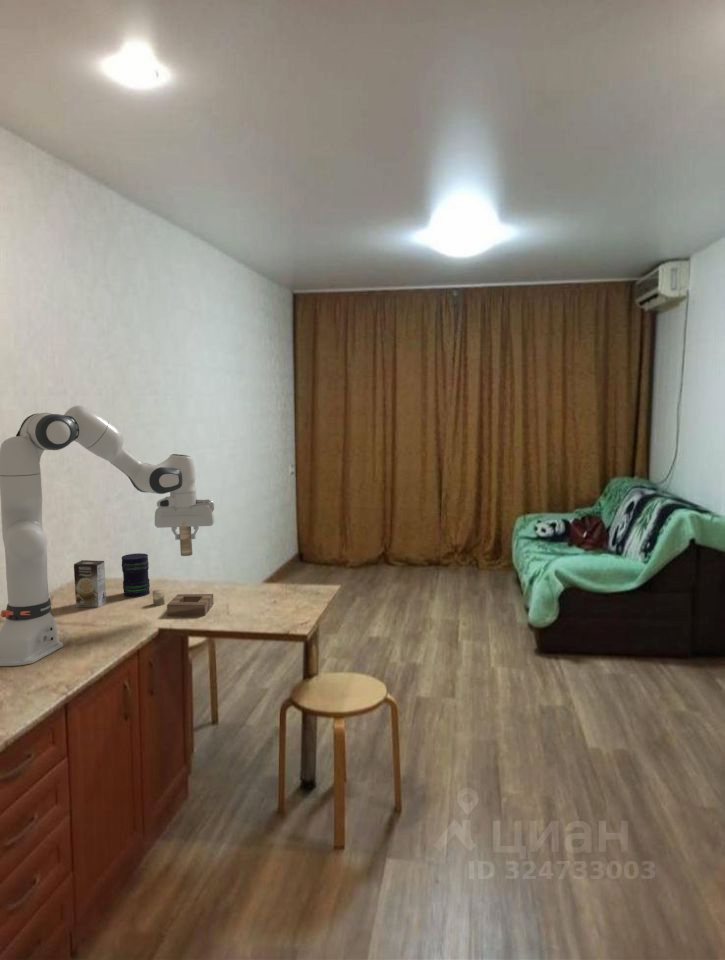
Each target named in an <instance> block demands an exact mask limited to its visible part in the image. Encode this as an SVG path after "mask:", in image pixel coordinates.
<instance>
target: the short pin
mask: <svg viewBox="0 0 725 960" xmlns="http://www.w3.org/2000/svg"><path fill="white" fill-rule="evenodd" d="M152 603H153V605H152V606H155V607H157V606H159V607H160V606H164V605H165V604H166V603H165V590H164V589H160V588H159V589H154V590H152Z"/></svg>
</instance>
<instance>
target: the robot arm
mask: <svg viewBox="0 0 725 960" xmlns="http://www.w3.org/2000/svg"><path fill="white" fill-rule="evenodd" d="M73 442H75V443H78V444H79V445H80V446H82V448H84V449H86V450H87V451H89V452H90V453H92V454H94V455H96V456H97V457H99V458H101V459H104V460H105V461H106V462H107V461H108V462H109V463H110V464H111V465H113V466H114V467H115V468H116V469H118V470H120V471H121V472H122V473H123V474H124V475H125V476H126V477H127V478H128V479H129V480H130V483H131V484H132V485H133V487H134V489H136V490H137V491H139V492H141V493H150V494H157V495H164V494H167V493H170V494H169V496H165V497H164V498H161V499H159V500H157V502H156V507H157V508H156V509H155V511H154V526H155V527H156V528H158V529H161V528H162V529H163V528H171V529H170V530H171V532H172V533H173V535H174V537H175V538H174V539H175V540H176V541H180V533H178V531H177V529H178V528H179V527H181V526H182V522H186V526H187V527H191V528H192V527H193V530H194V532H192V533H191V539H192V540H196V538H197V533H198V530H199V529H200V528H199V527H212V526H213V525H214V524H215V515H214V510H215V504H214V502H213V501H212V500H210V499H197V489H196V487H195V486H196V485H195V482H196V470H195V463H194V459H193V458H192V457H191V456H190V455H187V454H177V453H172V454H170V455H169V457H168V458H166V459H165V460H164V461H162V462H160V463H158V464H150V463H145V462H142V461H139V460H138V459H137V458H136V457H134V456H133V455H132V454H131V453H130V452H128V451H127V450H126V449H125V448H124V447H123V444H124V436H123V434H122V433H121V431H120V430H119V429H118V428H117V427H116V426H115V425H114V424H112V423H111V422H110V421H109V420H107V419H106V418H105V417H103V415H102V416H101V415H100V414H99V413H97V412H95V411H93V410H92V409H89V408H87V407H85V406H83V405H74V406H72V407H70V408H68V409H67V410H66V412H65V413H64V414H60V413H59V414H58V413H57V414H56V413H51V412H41V413H39V412H38V413H37V412H36V413H33V414H31V415H28V416H27V417H26V418H25V419H24V420H23V421H22V423H21V425H20V427H19V430H18V431H17V433H16V435H15V436H10V437H9V438H7V439H5V440H3V442H2V443H1V444H0V513H1V514H0V515H1V516H0V517H1V531H2V536H1V537H2V541H3V546H4V555H5V574H6V575H5V576H6V577H5V578H6V590H7V604H6V609H5V610H4V609H2V610H1V612H0V617H1V618H5V620H4V622H3V624H2V626H1V628H0V667H11V666H12V667H13V666H14V667H15V666H25V665H30V664H33V663H35V662H38V661H39V660H40V659H41V660H42V659H43V658H45V657H46V656H48V655H50V654H52V653H54V652H56V651H57V650H59V649H61V648H63V647H64V642H62V641H60V637H59V632H58V624H57V621H56V618H55V617H54V616H53V615H52V613H51V612H52V602H51V599H50V597H49V582H48V581H49V580H48V546H47V545H48V543H47V536H46V533H45V532H44V529H43V491H42V490H43V489H42V474H41V464H40V463H41V457H42V455H43V453H44V452H45V451H60V450H62V449H64V448H67V447H68V446H69V445H70V444H72V443H73Z"/></svg>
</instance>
